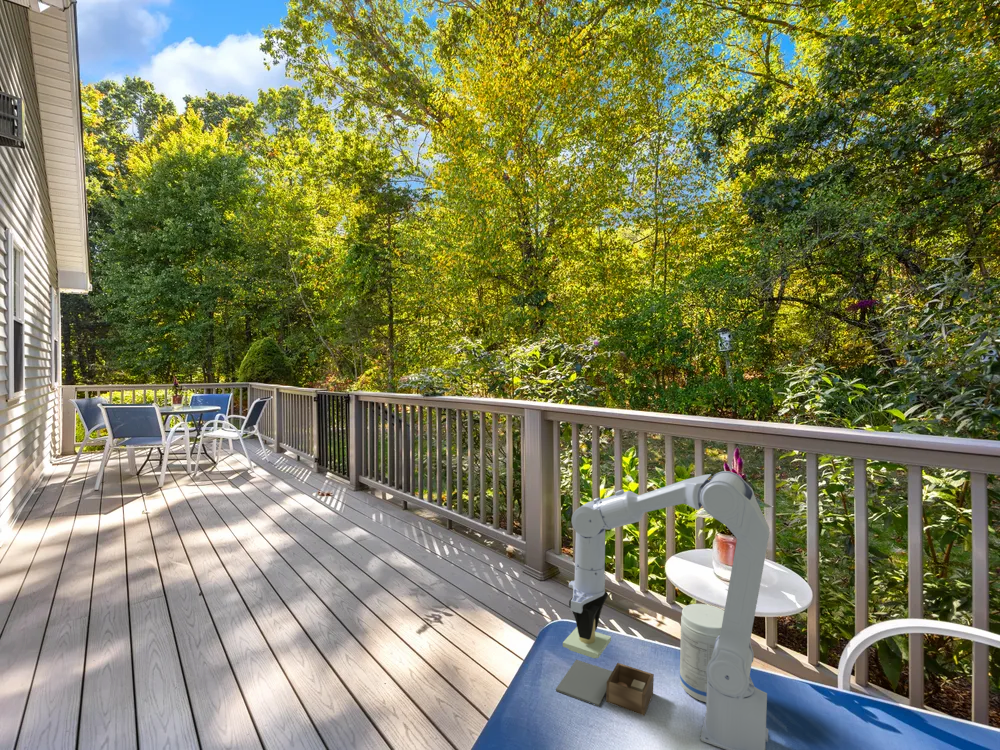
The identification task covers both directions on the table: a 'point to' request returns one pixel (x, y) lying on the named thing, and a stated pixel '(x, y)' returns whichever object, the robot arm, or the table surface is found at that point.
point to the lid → (587, 643)
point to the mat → (585, 682)
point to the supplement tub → (698, 646)
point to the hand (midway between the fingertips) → (587, 633)
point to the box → (630, 688)
